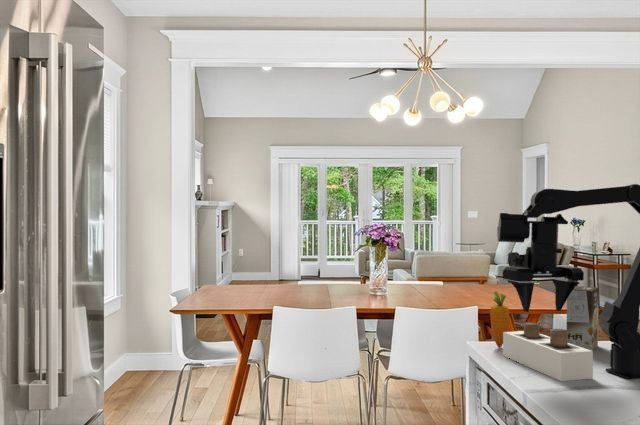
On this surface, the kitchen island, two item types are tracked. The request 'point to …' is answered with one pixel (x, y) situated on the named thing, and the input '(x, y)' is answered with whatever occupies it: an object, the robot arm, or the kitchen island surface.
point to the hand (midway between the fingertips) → (542, 311)
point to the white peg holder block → (549, 356)
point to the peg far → (531, 330)
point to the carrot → (499, 319)
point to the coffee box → (583, 317)
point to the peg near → (558, 338)
